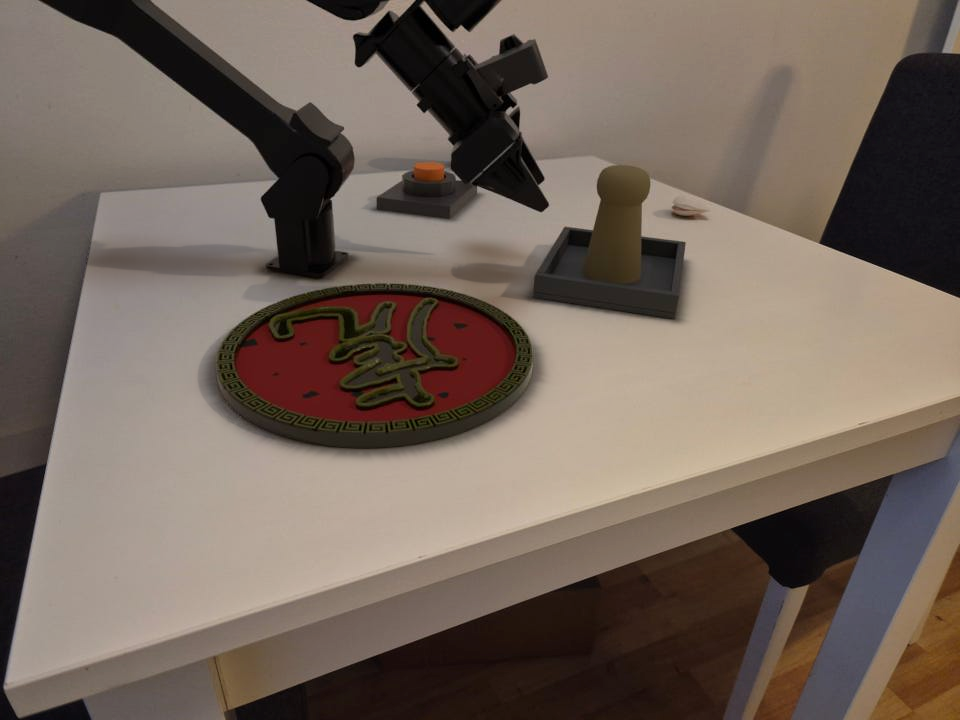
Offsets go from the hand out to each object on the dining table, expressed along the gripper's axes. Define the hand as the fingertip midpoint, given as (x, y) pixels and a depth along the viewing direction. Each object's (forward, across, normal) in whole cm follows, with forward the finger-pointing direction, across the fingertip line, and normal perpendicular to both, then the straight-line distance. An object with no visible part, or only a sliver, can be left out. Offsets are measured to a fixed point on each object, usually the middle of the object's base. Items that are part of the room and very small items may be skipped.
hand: (543, 194), depth 71 cm
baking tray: (+12, 0, 0) cm, 12 cm away
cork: (+11, 0, 0) cm, 11 cm away
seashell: (+21, +24, -9) cm, 33 cm away
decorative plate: (-3, -19, +16) cm, 25 cm away
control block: (-4, +24, +16) cm, 29 cm away
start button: (-6, +24, +14) cm, 28 cm away
